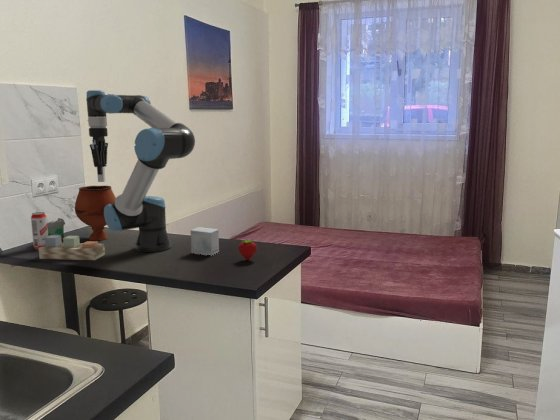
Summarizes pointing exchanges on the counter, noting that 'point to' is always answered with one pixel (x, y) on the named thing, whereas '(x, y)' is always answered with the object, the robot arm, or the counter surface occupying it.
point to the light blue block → (53, 241)
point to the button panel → (71, 252)
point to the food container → (56, 228)
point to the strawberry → (247, 249)
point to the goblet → (94, 208)
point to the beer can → (39, 229)
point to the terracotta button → (90, 244)
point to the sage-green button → (71, 241)
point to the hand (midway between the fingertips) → (101, 181)
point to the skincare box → (204, 241)
